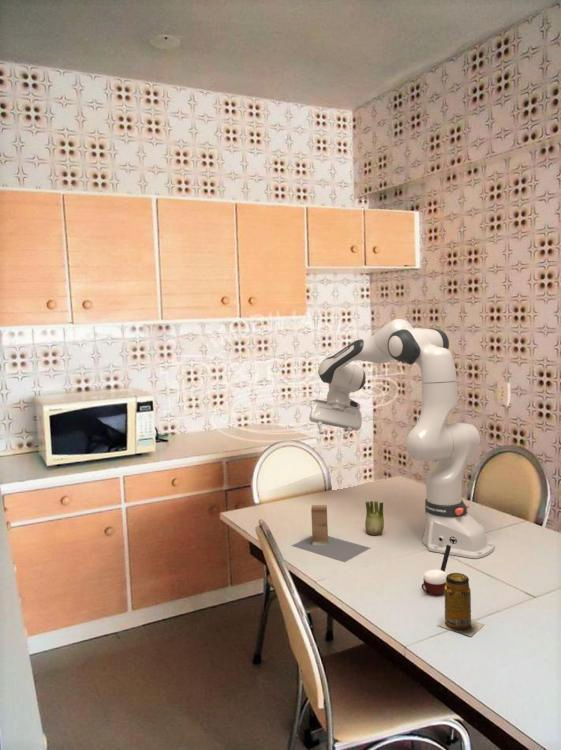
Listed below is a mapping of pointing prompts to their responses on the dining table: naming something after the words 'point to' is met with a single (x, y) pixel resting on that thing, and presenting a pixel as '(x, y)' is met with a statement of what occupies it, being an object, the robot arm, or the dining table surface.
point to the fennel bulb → (374, 518)
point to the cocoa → (436, 577)
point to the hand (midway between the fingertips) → (333, 436)
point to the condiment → (459, 605)
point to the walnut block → (319, 525)
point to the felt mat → (333, 548)
